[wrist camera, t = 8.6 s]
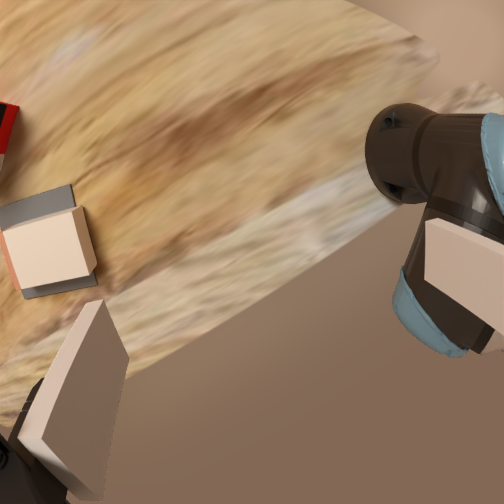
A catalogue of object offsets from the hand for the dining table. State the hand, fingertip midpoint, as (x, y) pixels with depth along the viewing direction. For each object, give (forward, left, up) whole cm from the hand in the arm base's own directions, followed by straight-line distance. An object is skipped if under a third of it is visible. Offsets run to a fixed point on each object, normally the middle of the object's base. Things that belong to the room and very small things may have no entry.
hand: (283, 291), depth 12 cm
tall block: (+17, +3, -27) cm, 32 cm away
